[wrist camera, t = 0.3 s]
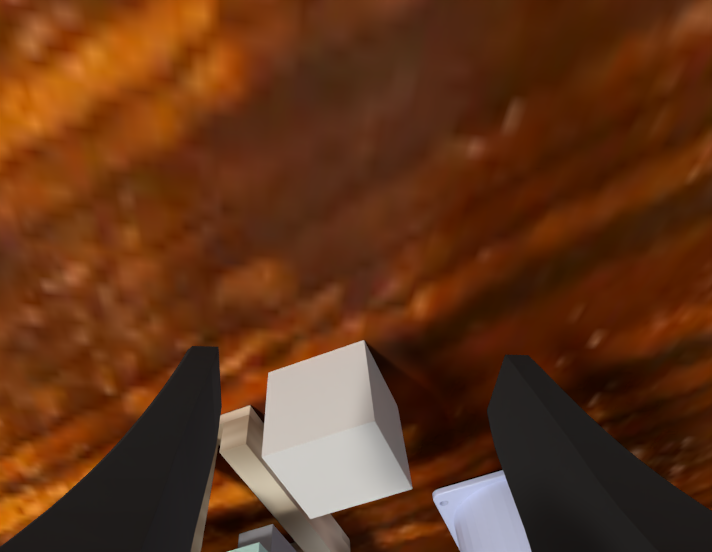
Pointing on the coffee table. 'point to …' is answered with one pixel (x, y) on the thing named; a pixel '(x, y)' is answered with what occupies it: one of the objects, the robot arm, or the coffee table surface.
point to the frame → (267, 487)
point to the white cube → (334, 432)
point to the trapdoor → (263, 541)
